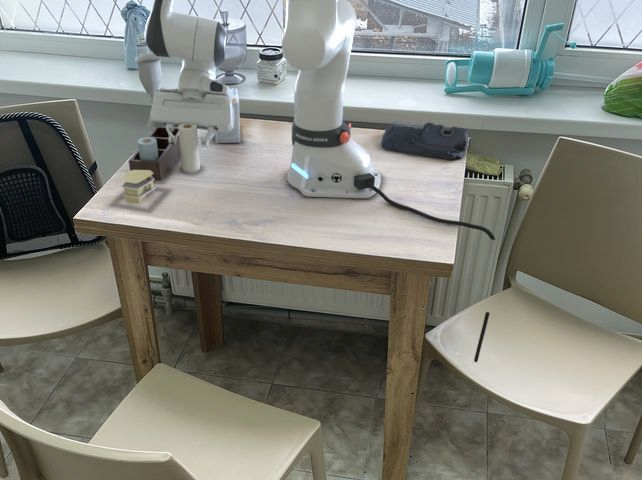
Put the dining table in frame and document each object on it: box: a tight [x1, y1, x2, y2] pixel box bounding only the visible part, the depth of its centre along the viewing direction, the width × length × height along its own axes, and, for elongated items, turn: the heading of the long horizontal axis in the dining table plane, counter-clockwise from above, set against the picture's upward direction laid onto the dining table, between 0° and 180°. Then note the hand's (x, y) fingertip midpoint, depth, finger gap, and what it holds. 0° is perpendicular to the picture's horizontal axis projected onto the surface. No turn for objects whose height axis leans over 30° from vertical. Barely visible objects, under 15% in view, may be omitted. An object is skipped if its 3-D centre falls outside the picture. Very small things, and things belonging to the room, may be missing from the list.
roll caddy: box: [128, 126, 181, 182], centre depth 176 cm, size 8×21×5 cm, turn 170°
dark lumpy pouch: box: [380, 122, 470, 160], centre depth 186 cm, size 15×22×5 cm
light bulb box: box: [214, 87, 241, 144], centre depth 188 cm, size 11×7×11 cm, turn 6°
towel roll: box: [178, 123, 201, 173], centre depth 172 cm, size 4×4×11 cm
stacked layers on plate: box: [121, 170, 156, 204], centre depth 162 cm, size 10×9×6 cm
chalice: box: [134, 53, 163, 130], centre depth 190 cm, size 7×7×18 cm
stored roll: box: [137, 136, 159, 161], centre depth 170 cm, size 4×4×8 cm
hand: (188, 145), depth 171 cm, fingers open, 7 cm apart
